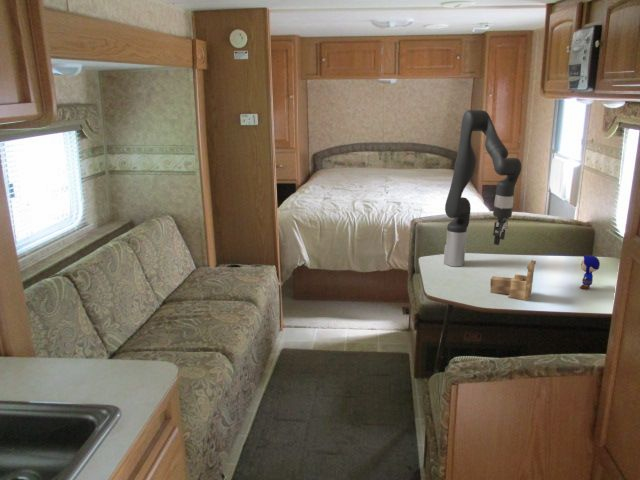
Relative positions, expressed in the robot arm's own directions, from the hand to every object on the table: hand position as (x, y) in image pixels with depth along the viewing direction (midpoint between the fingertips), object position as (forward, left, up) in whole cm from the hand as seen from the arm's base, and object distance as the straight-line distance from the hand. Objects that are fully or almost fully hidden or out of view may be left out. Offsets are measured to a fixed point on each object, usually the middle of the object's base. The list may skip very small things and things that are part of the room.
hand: (499, 241), depth 235 cm
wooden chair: (+11, -5, -21) cm, 24 cm away
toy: (+35, +18, -21) cm, 45 cm away
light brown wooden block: (+6, -5, -20) cm, 22 cm away
